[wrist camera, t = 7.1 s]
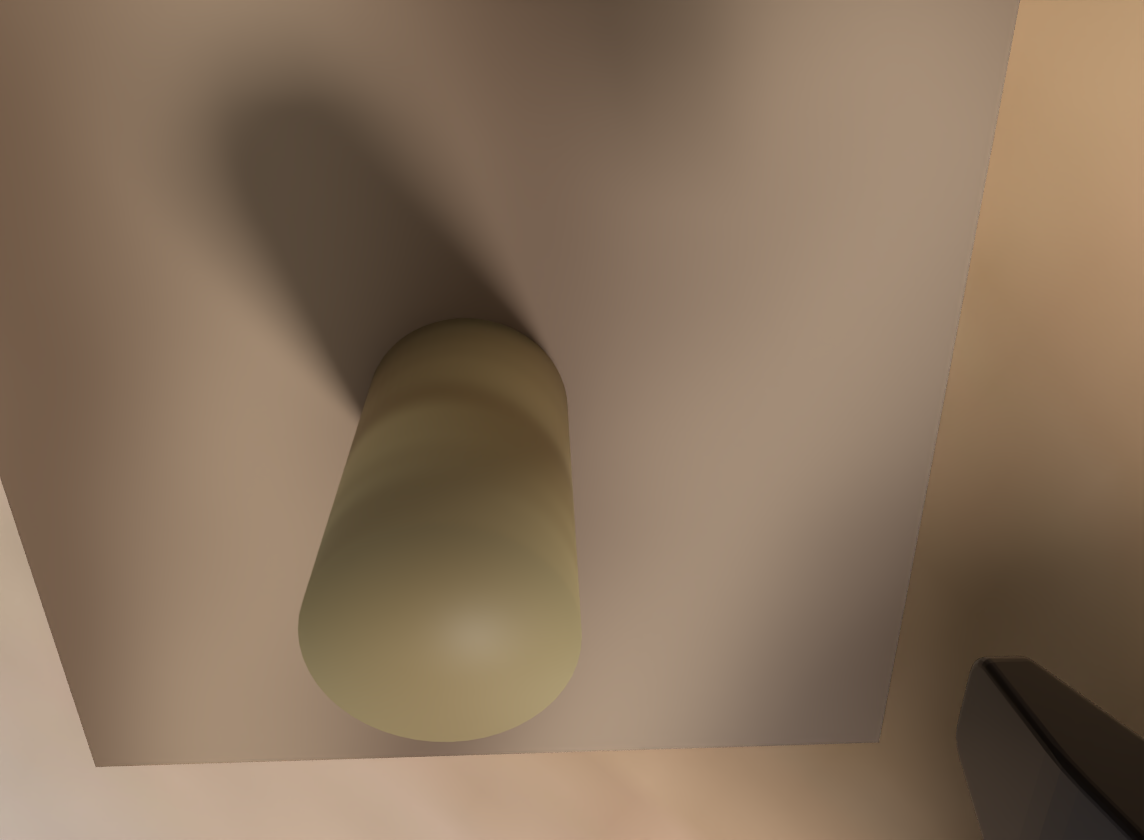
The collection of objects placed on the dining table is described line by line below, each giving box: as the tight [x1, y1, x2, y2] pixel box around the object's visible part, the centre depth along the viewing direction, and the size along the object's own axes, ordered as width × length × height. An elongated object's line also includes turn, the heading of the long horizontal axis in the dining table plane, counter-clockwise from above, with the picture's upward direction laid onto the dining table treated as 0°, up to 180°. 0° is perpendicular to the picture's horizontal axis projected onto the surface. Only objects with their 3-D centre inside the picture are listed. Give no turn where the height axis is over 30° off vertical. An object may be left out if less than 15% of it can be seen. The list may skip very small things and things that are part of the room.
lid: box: [0, 0, 1020, 767], centre depth 12 cm, size 13×13×6 cm
